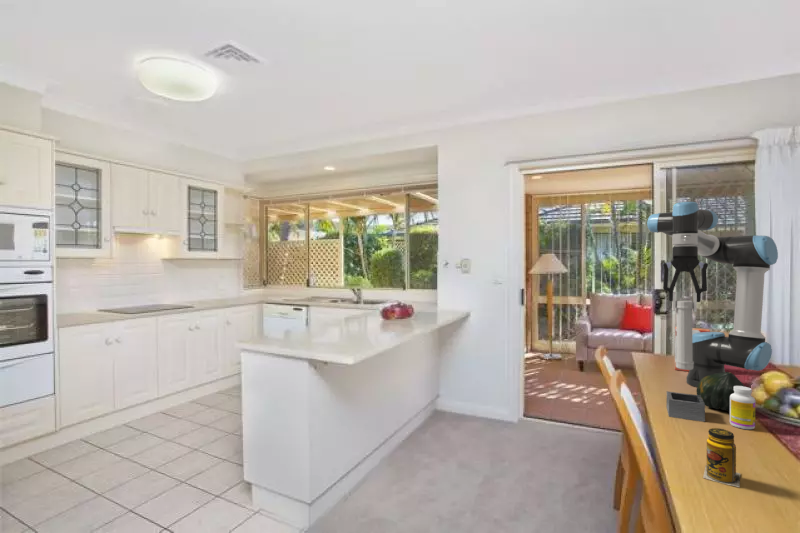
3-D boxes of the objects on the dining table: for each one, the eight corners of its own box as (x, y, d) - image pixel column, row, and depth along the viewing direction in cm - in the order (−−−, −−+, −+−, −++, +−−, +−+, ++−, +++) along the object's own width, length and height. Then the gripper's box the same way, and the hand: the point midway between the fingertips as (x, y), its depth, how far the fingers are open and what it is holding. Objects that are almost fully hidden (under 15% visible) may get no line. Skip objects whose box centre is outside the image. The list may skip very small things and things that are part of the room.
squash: (690, 384, 168) (700, 362, 158) (735, 389, 163) (748, 367, 153) (697, 417, 158) (708, 396, 148) (746, 423, 153) (761, 402, 143)
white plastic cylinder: (696, 370, 148) (696, 285, 148) (677, 369, 149) (676, 285, 149) (689, 366, 153) (689, 284, 153) (670, 365, 155) (670, 284, 154)
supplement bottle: (757, 431, 136) (757, 392, 135) (731, 427, 139) (731, 389, 139) (753, 424, 141) (753, 386, 141) (728, 420, 145) (728, 383, 144)
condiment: (702, 478, 108) (703, 432, 108) (705, 465, 115) (706, 422, 114) (739, 488, 103) (739, 440, 103) (740, 474, 110) (740, 428, 110)
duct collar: (700, 411, 153) (700, 395, 153) (704, 421, 144) (704, 404, 144) (666, 407, 158) (666, 391, 158) (668, 416, 149) (668, 399, 149)
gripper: (655, 246, 152) (654, 310, 152) (719, 245, 143) (718, 313, 143) (654, 246, 158) (653, 308, 159) (715, 245, 149) (714, 311, 150)
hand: (684, 310), depth 151 cm, fingers closed on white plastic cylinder, 5 cm apart
